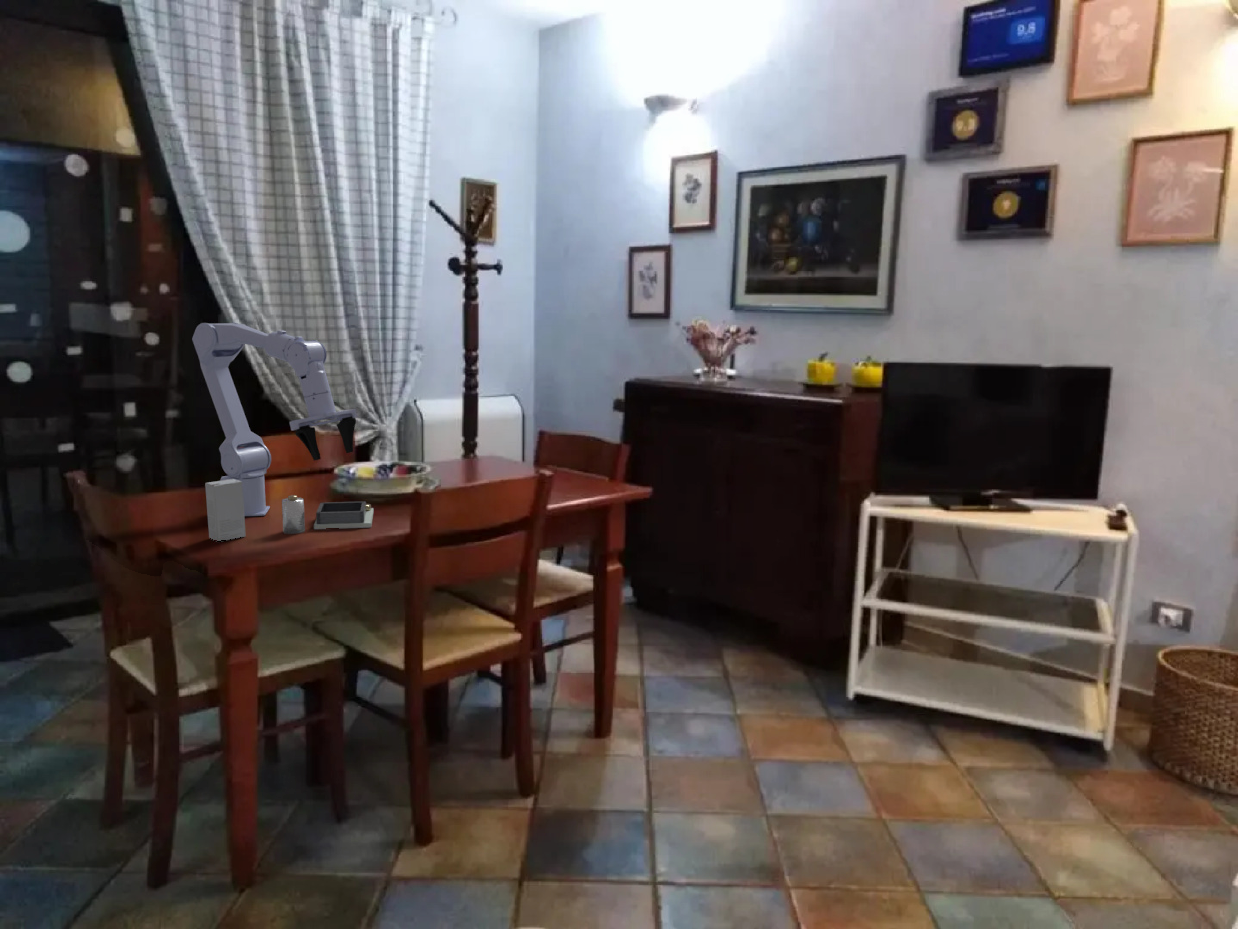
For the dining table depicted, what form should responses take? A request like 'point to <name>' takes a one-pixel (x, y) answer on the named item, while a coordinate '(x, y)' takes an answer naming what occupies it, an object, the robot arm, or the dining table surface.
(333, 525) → the box
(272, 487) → the dining table surface
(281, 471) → the dining table surface
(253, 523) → the dining table surface
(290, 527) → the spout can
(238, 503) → the skincare box
